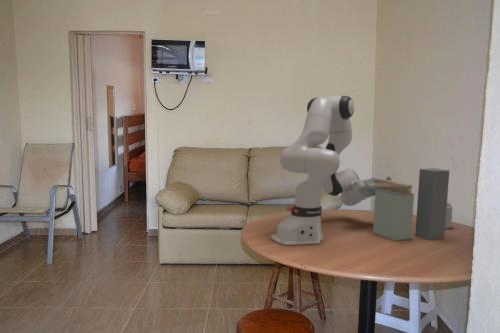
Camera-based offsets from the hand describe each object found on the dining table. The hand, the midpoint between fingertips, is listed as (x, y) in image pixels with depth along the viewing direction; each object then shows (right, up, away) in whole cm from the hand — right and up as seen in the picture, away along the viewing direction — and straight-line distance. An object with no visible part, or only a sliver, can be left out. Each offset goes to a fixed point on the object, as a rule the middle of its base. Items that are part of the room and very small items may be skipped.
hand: (382, 178), depth 202 cm
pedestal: (+20, -26, -5) cm, 33 cm away
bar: (+3, -5, -6) cm, 8 cm away
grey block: (+3, -25, -4) cm, 26 cm away
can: (+33, -24, +12) cm, 42 cm away
